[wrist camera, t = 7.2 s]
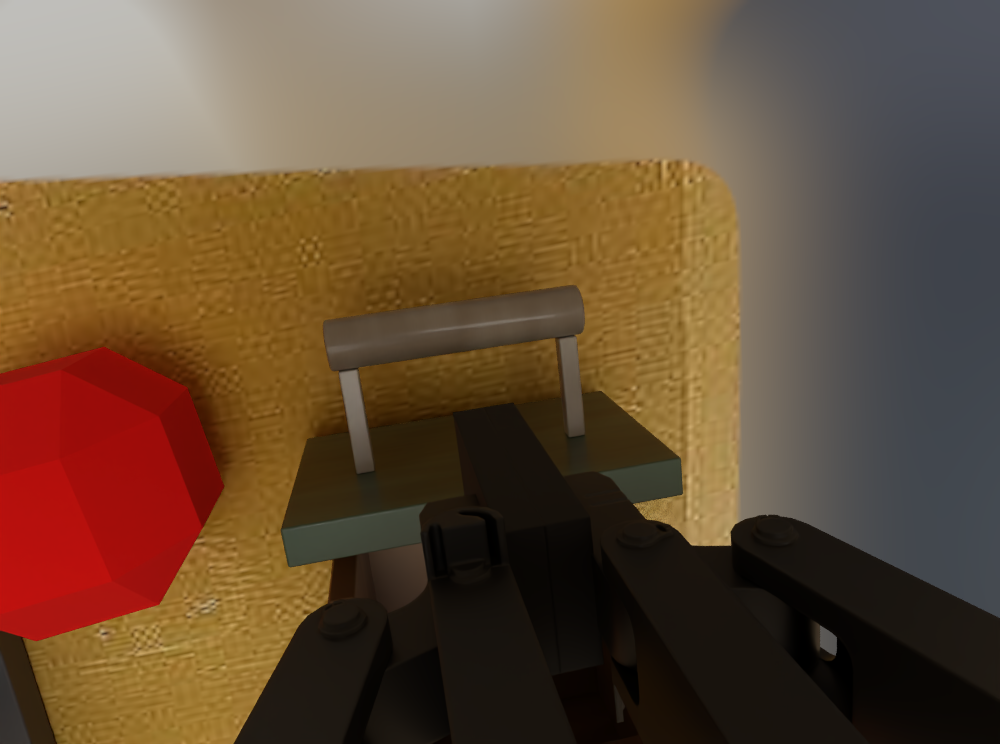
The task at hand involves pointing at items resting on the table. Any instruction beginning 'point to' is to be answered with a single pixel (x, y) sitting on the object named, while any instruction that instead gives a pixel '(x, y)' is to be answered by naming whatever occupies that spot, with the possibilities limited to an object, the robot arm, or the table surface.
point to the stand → (20, 697)
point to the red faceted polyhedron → (96, 490)
